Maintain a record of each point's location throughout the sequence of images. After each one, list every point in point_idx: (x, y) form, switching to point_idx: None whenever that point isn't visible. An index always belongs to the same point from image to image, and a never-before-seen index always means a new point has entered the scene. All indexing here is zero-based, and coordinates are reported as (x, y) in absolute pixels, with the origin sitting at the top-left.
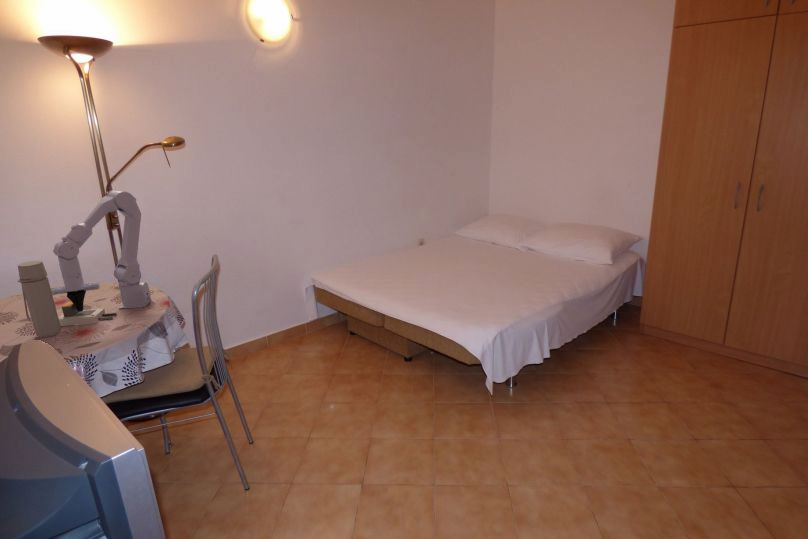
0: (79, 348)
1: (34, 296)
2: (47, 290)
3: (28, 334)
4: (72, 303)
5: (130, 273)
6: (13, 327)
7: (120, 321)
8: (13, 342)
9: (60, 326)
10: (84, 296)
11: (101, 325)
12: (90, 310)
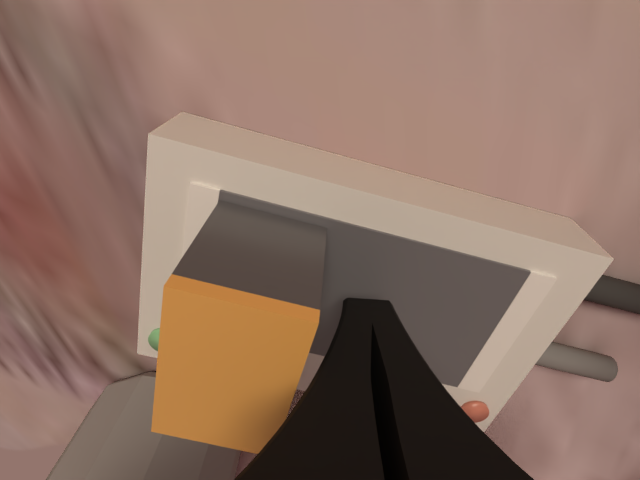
0: None
1: None
2: None
3: (20, 361)
4: (274, 392)
5: None
6: None
7: (633, 425)
8: (6, 434)
9: (236, 450)
10: (487, 447)
11: (498, 431)
12: (456, 263)
